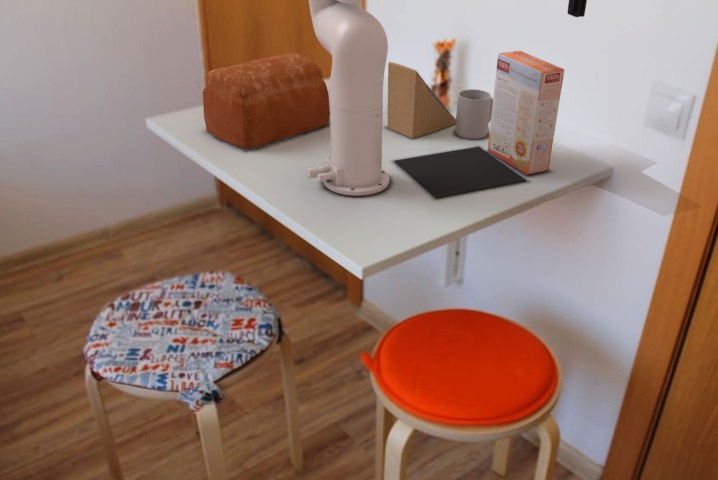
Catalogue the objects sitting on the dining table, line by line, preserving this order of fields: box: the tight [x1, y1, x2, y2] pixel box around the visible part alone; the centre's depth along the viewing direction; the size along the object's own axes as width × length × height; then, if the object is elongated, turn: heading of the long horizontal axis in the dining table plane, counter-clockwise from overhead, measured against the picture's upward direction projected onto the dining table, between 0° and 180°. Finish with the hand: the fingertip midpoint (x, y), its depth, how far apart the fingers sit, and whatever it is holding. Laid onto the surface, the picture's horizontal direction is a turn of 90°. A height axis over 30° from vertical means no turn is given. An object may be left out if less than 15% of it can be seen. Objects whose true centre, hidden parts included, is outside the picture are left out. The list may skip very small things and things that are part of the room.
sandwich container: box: [387, 61, 456, 139], centre depth 161 cm, size 9×15×15 cm, turn 135°
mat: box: [394, 146, 527, 199], centre depth 144 cm, size 20×18×1 cm
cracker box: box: [487, 50, 565, 175], centre depth 144 cm, size 14×6×21 cm, turn 30°
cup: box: [454, 88, 493, 140], centre depth 160 cm, size 7×10×9 cm
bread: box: [202, 51, 330, 149], centre depth 156 cm, size 17×24×15 cm
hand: (575, 15), depth 138 cm, fingers closed
